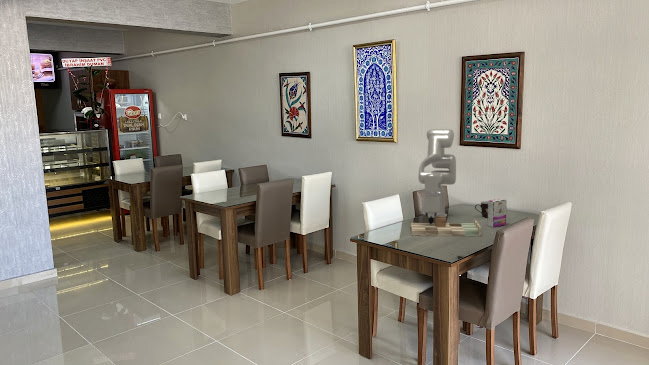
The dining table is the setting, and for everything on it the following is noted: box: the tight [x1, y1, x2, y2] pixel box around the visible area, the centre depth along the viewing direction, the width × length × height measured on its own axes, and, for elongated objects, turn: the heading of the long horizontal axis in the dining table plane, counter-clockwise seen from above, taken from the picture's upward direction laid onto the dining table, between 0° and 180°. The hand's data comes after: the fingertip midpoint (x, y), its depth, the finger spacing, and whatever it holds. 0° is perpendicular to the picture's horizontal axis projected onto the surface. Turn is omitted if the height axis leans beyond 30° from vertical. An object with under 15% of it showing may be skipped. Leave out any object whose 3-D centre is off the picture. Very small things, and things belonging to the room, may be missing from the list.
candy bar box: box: [487, 198, 507, 228], centre depth 302 cm, size 11×5×16 cm, turn 117°
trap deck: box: [410, 219, 482, 237], centre depth 291 cm, size 19×39×6 cm, turn 82°
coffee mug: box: [474, 200, 489, 219], centre depth 326 cm, size 12×9×10 cm
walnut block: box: [434, 216, 447, 227], centre depth 295 cm, size 6×6×5 cm
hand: (430, 223), depth 296 cm, fingers closed
